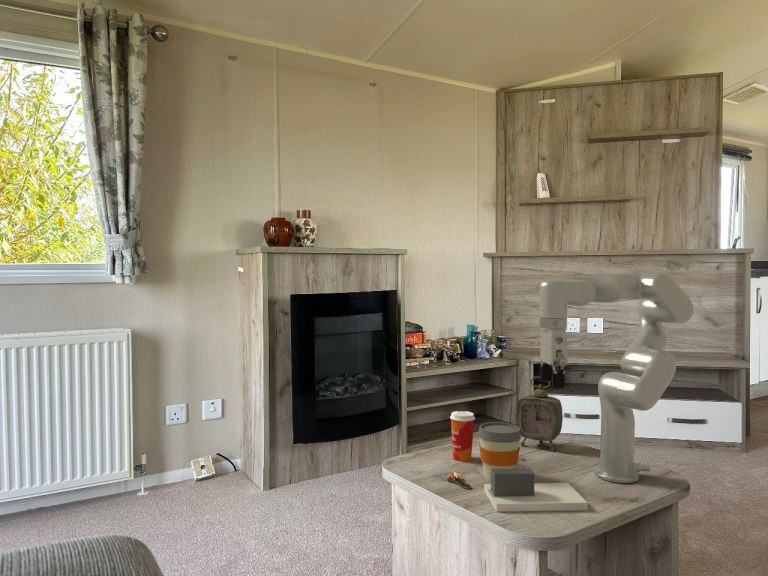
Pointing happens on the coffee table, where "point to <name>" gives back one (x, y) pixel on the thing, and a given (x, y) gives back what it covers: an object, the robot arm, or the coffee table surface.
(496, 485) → the block
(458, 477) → the composite cable
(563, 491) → the board
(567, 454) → the coffee table surface
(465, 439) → the coffee cup
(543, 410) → the tabletop clock
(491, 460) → the reusable coffee cup
